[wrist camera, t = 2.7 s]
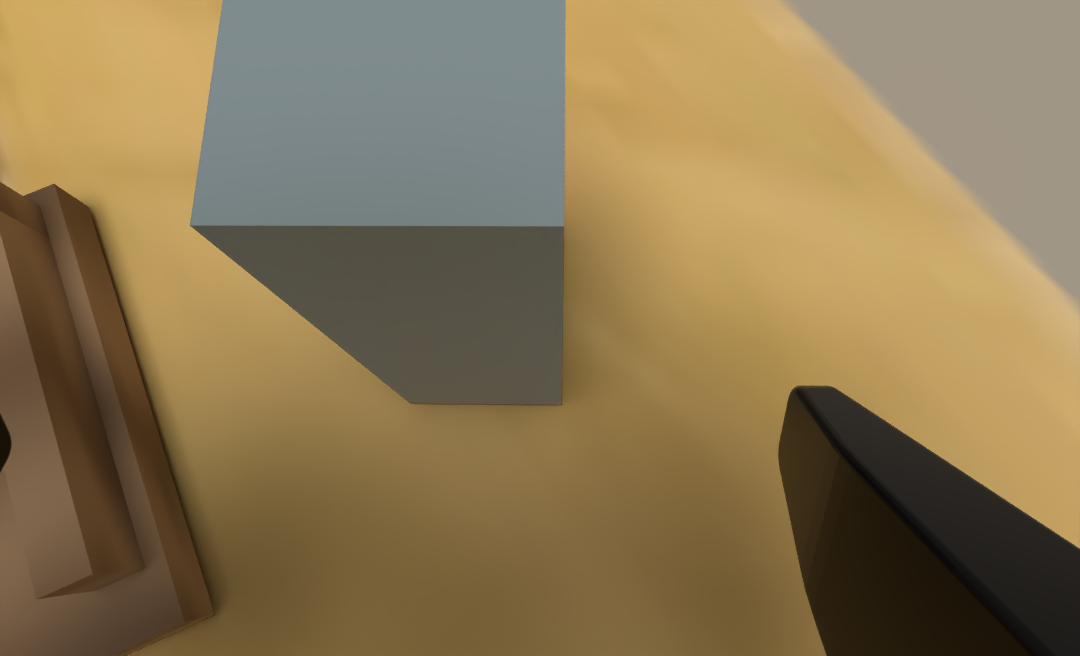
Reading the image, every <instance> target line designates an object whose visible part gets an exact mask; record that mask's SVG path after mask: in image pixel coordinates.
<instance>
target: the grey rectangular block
mask: <svg viewBox="0 0 1080 656" xmlns="http://www.w3.org/2000/svg"><path fill="white" fill-rule="evenodd" d="M564 156H565V0H223V3H222V10H221V17H220V23H219V30H218V37H217V44H216V51H215V58H214V65H213V71H212V78H211V85H210V92H209V99H208V106H207V113H206V119H205V126H204V133H203V140H202V147H201V154H200V160H199V167H198V174H197V181H196V188H195V195H194V202H193V208H192V215H191V222H190V226H191V227H193V228H194V229H195V230H196V231H197V232H199V233H200V234H201V235H202V236H204V237H205V238H206V239H207V240H209V241H210V242H211V243H212V244H214V245H215V246H216V247H217V248H219V249H220V250H221V251H222V252H223V253H225V254H226V255H227V256H228V257H230V258H231V259H232V260H233V261H235V262H236V263H237V264H238V265H240V266H241V267H242V268H243V269H245V270H246V271H247V272H248V273H249V274H251V275H252V276H253V277H254V278H256V279H257V280H258V281H259V282H261V283H262V284H263V285H264V286H266V287H267V288H268V289H269V290H271V291H272V292H273V293H274V294H275V295H277V296H278V297H279V298H280V299H282V300H283V301H284V302H285V303H287V304H288V305H289V306H290V307H292V308H293V309H294V310H295V311H297V312H298V313H299V314H300V315H301V316H303V317H304V318H305V319H306V320H308V321H309V322H310V323H311V324H313V325H314V326H315V327H316V328H318V329H319V330H320V331H321V332H323V333H324V334H325V335H326V336H327V337H329V338H330V339H331V340H332V341H334V342H335V343H336V344H337V345H339V346H340V347H341V348H342V349H344V350H345V351H346V352H347V353H349V354H350V355H351V356H352V357H353V358H355V359H356V360H357V361H358V362H360V363H361V364H362V365H363V366H365V367H366V368H367V369H368V370H370V371H371V372H372V373H373V374H375V375H376V376H377V377H378V378H379V379H381V380H382V381H383V382H384V383H386V384H387V385H388V386H389V387H391V388H392V389H393V390H394V391H396V392H397V393H398V394H399V395H400V396H402V397H403V398H404V399H405V400H407V401H408V402H409V403H421V404H524V405H562V352H563V272H564Z"/></svg>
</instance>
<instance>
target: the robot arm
mask: <svg viewBox="0 0 1080 656" xmlns="http://www.w3.org/2000/svg"><path fill="white" fill-rule="evenodd" d="M11 446H12V440H11V435H10V432H9V430H8V428H7V426H6V424H5V422H4V419H3V417H2V415H1V413H0V473H1V471H2V469H3V467H4V465H5V463H6V462H7V460H8V458H9V455H10V452H11ZM778 457H779V467H780V472H781V477H782V482H783V487H784V491H785V496H786V501H787V506H788V511H789V516H790V521H791V525H792V530H793V535H794V540H795V545H796V550H797V555H798V559H799V564H800V569H801V574H802V578H803V582H804V587H805V591H806V594H807V597H808V601H809V604H810V607H811V610H812V614H813V617H814V620H815V623H816V626H817V629H818V632H819V635H820V638H821V640H822V643H823V646H824V649H825V652H826V655H827V656H1080V549H1079V548H1078V547H1076V546H1075V545H1073V544H1072V543H1070V542H1069V541H1067V540H1066V539H1064V538H1063V537H1061V536H1060V535H1058V534H1057V533H1055V532H1054V531H1052V530H1050V529H1049V528H1047V527H1046V526H1044V525H1043V524H1041V523H1040V522H1038V521H1037V520H1035V519H1034V518H1032V517H1031V516H1029V515H1028V514H1026V513H1025V512H1023V511H1022V510H1020V509H1019V508H1017V507H1015V506H1014V505H1012V504H1011V503H1009V502H1008V501H1006V500H1005V499H1003V498H1002V497H1000V496H999V495H997V494H996V493H994V492H993V491H991V490H990V489H988V488H987V487H985V486H984V485H982V484H980V483H979V482H977V481H976V480H974V479H973V478H971V477H970V476H968V475H967V474H965V473H964V472H962V471H961V470H959V469H958V468H956V467H955V466H953V465H952V464H950V463H949V462H947V461H945V460H944V459H942V458H941V457H939V456H938V455H936V454H935V453H933V452H932V451H930V450H929V449H927V448H926V447H924V446H923V445H921V444H920V443H918V442H917V441H915V440H914V439H912V438H910V437H909V436H907V435H906V434H904V433H903V432H901V431H900V430H898V429H897V428H895V427H894V426H892V425H891V424H889V423H888V422H886V421H885V420H883V419H882V418H880V417H879V416H877V415H875V414H874V413H872V412H871V411H869V410H868V409H866V408H865V407H863V406H862V405H860V404H859V403H857V402H856V401H854V400H853V399H851V398H850V397H848V396H847V395H845V394H844V393H842V392H840V391H839V390H837V389H836V388H834V387H831V386H796V387H795V388H793V389H792V391H791V393H790V395H789V398H788V402H787V407H786V412H785V417H784V422H783V427H782V432H781V437H780V442H779V451H778Z"/></svg>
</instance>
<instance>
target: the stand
mask: <svg viewBox="0 0 1080 656" xmlns="http://www.w3.org/2000/svg"><path fill="white" fill-rule="evenodd" d="M0 413H1V415H2V417H3V419H4V422H5V424H6V426H7V428H8V430H9V432H10V435H11V440H12V446H11V452H10V455H9V458H8V460H7V462H6V463H5V465H4V467H3V469H2V471H1V473H0V656H125V655H128V654H130V653H132V652H134V651H136V650H139V649H141V648H143V647H145V646H147V645H149V644H152V643H154V642H156V641H158V640H160V639H163V638H165V637H167V636H169V635H171V634H173V633H176V632H178V631H180V630H182V629H184V628H187V627H189V626H191V625H193V624H195V623H197V622H200V621H202V620H204V619H206V618H208V617H211V616H213V615H215V614H214V610H213V607H212V604H211V601H210V598H209V594H208V591H207V588H206V585H205V581H204V578H203V575H202V572H201V568H200V565H199V562H198V559H197V556H196V552H195V549H194V546H193V543H192V539H191V536H190V533H189V530H188V526H187V523H186V520H185V517H184V514H183V510H182V507H181V504H180V501H179V497H178V494H177V491H176V488H175V484H174V481H173V478H172V475H171V472H170V468H169V465H168V462H167V459H166V455H165V452H164V449H163V446H162V443H161V439H160V436H159V433H158V430H157V426H156V423H155V420H154V417H153V413H152V410H151V407H150V404H149V401H148V397H147V394H146V391H145V388H144V384H143V381H142V378H141V375H140V371H139V368H138V365H137V362H136V359H135V355H134V352H133V349H132V346H131V342H130V339H129V336H128V333H127V329H126V326H125V323H124V320H123V317H122V313H121V310H120V307H119V304H118V300H117V297H116V294H115V291H114V287H113V284H112V281H111V278H110V275H109V271H108V268H107V265H106V262H105V258H104V255H103V252H102V249H101V245H100V242H99V239H98V236H97V233H96V229H95V226H94V223H93V220H92V216H91V213H90V210H89V207H88V206H86V205H85V204H83V203H82V202H80V201H79V200H77V199H76V198H74V197H73V196H71V195H70V194H68V193H67V192H65V191H64V190H62V189H61V188H59V187H58V186H56V185H55V184H52V185H50V186H47V187H45V188H42V189H40V190H37V191H35V192H32V193H30V194H27V195H25V196H22V195H20V194H19V193H17V192H15V191H14V190H12V189H11V188H9V187H7V186H6V185H4V184H2V183H1V182H0Z"/></svg>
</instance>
